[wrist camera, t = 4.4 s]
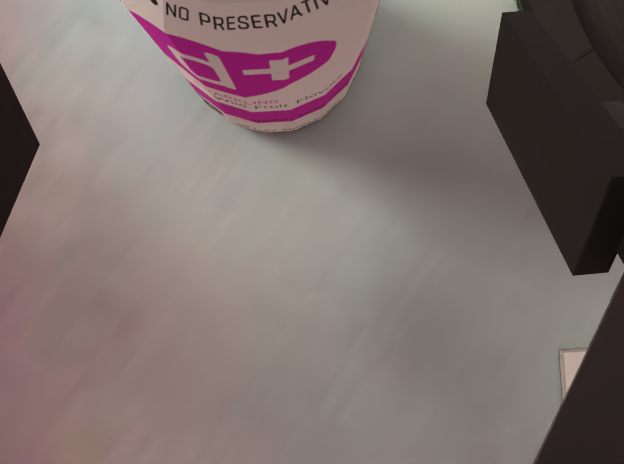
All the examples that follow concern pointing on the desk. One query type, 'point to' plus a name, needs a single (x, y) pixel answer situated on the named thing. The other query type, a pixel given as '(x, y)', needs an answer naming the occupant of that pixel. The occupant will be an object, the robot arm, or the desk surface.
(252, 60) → the supplement can
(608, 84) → the fan shaped piece
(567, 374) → the white plate with bracket
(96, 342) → the desk surface
